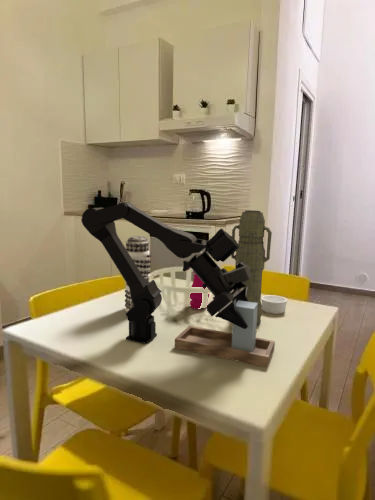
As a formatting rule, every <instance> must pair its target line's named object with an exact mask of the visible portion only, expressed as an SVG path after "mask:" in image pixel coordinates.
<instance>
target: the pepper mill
mask: <svg viewBox="0 0 375 500" xmlns="http://www.w3.org/2000/svg"><path fill="white" fill-rule="evenodd" d="M202 253H203V252H202V251H201V252H199V253H197V254H198V255H201V254H202ZM192 275H193V281H192V284H191V286H190V288H191V287H203V286H202V285H203V284H204V283H203V282H202V281H201V279H200V278H199V277H198V276H197V275H196V273H195V272H194V271H193V270H192ZM209 298H210V293H209V294H208V299H209ZM189 299H190V301H189V306H190V305H191V307H192V308H191V307H190V308H191V309H193V308H195V309H194V310H199V309H198V308H200V306H201V303H202V293H191V294H190V297H189Z"/></svg>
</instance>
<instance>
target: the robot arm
mask: <svg viewBox="0 0 375 500" xmlns="http://www.w3.org/2000/svg"><path fill="white" fill-rule="evenodd" d="M122 219H124V220H125V221H127V222H129V223H131V224H132V225H133V226H135V227H137V228H139V229H140V230H142V231H144V232H146V233H147V234H149V235H151V236H152V237H154V238H156V239H157V240H158V241H160V242H161V243H162V244H163V245H164V246H165V248H166V249H168V250H169V251H170V252H171V253H172V254H173V255H175V256H176V257H177V258H179V259H184V260H183V261H182V265H183V267H182V271H183V272H187V271H189V270H190V269H191V270H192V272H193V271H194V272H195V273H196V275H197V276H198V277H199V278H200V279H201V281H202V282H203V283H204V284H203V285H202V286H203V288H204V289H205V288H206V287H207V288H208V290H209V292H211V295H213V297H212V300H211V301H210V302H208V305H207V308H206V312H207V313H208V314H209V315H210V316H211V317H213V316H214V317H215V318H219V319H222V320H224V321H226V322H229V323H231V324H232V325H233V324H235V325H237V326H239V327H241V328H243V329H246V328H247V327H248V325H247V324H246V322H245V320H244V319H243V317H242V316H241V314H240V313H239V311H238V310H237V308H236V303H237V301H238V300H240V301H247V302H250V301H249V299H248V296H247V289H248V286H247V287H245V286H246V285H247V284H248V283H247V282H246V281H247V280H249V279H250V277H252V275H251V273H250V267H248V265H245V264H244V263H243V262H241V263H238V264H236V267H235V268H233V269H232V270H229V271H228V270H227V269H226V268H221V267H220V266H219V265H218V264H217V262H218V263H219V262H220V261H221V262H223V263H224V262H225V261H227V259H229V258H230V257H231V255H232V254H233V253H234V254H235V253H236V251H237V250H238V249H239V248H240V246H239V244H238V241H237V240H236V238H235V239H234V238H233V237H232V235H230V234H229V232H227V231H225V229H224V228H222V227H221V228H220V229H218V231H216V233H215V234H214V235H213V236H212V237H211V238H210V239H208V240H205V239H200V238H197V237H196V236H195V235H194V234H193V233H190V232H187V231H185V230H181V229H177V228H176V227H175V228H173V227H171V226H169V225H167V224H165V223H163V222H162V221H161V220H158V219H157V218H155V217H153V216H152V215H150V214H148V213H146V212H145V211H143V210H141V209H140V208H138V207H136V206H135V205H134V204H133V203H131V202H129V201H128V202H127V201H126V202H120V203H118V204H114V205H111V206H108V207H93V208H88V209H85V210H84V211H83V212H82V215H81V224H82V226H83V227H84V228H85V229H86V231H87V232H88V233H89V234H90V235H91V236H92V237H93V238H95V239H96V240H98V241H99V242H100V243H101V244H102V246H103V248H104V249H105V251H106V252H107V254H108V255H109V258H110V259H111V260H112V262H113V264H114V265H115V267H116V268H117V269H118V272H119V273H120V275H121V276H122V278H123V281H125V282H126V283H127V284H128V286H129V289H130V295H131V300H132V302H133V305H134V306H133V307H132V308H131V309H130V310H129V311H128V312H127V311H126V312H125V316H126V319H127V321H128V335H127V336H126V337H125V340H126V341H131V342H136V343H142V344H148V343H149V342H150V341H152V340H153V339H154V338H155V337H157V335H158V334H157V333H156V328H157V327H156V326H157V325H156V321H155V315H152V314H153V313H154V312H155V311H156V310H157V309H158V308H159V306H160V305H161V304H162V299H163V298H162V290H161V289H160V288H159V287H158V285H157V283H156V281H155V279H152V280H151V281H147V280H146V279H145V278H144V277H143V276H142V274H141V272H140V271H139V269H138V268H137V266H136V264H135V263H134V261H133V260H132V258H131V256H130V255H129V253H128V252H127V250H126V246H125V245H124V244H123V242H122V240H121V239H120V237H119V235H118V233H117V229H116V227H117V226H116V223H115V221H119V220H122ZM204 249H205V250H204ZM203 250H204V251H203ZM202 251H203V252H202ZM199 252H202V254H201V255H198V253H199ZM193 254H194V255H193ZM192 255H193V256H192ZM191 256H192V257H191ZM189 257H191V258H190V259H189V260H187V259H186V258H189ZM185 259H186V260H185ZM126 283H125V284H126ZM243 287H245V288H244V289H243Z"/></svg>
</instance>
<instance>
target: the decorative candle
mask: <svg viewBox="0 0 375 500" xmlns="http://www.w3.org/2000/svg"><path fill="white" fill-rule="evenodd" d="M125 248H126V250H127V252H128V253H129V255H130V256H131V258H132V260H133V261H134V263H135V264H136V266H137V268H138V269H139V271H140V272H141V274H142V276H143V277H144V278H145V279H146V280H147V281H149V278H150V277H151V274H150V273H151V271H150V270H149V268H151V267H152V265H150V264H151V263H152V261H151V260H150V259H149V258H151V257H152V255H151V254H150V250H149V249H150V241H149V240H148V238H147V237H145V236H139V235H137V236H135V235H134V236H130V237H128V238H127V240H126V241H125ZM149 282H150V281H149ZM124 293H125V294H124V297H125V299H124V303H125V304H124V306H125V308H124V310H125V312H126V313H127V312H128V311H129V310H130V309H131V308H132V307H133V306H134V305H133V302H132V300H131V295H130V289H129V286H128V284H127V283H125V290H124Z"/></svg>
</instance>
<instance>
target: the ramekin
mask: <svg viewBox="0 0 375 500" xmlns="http://www.w3.org/2000/svg"><path fill="white" fill-rule="evenodd" d="M261 303H262V312H264V313H265V312H266V313H268V314H271V315H272V314H273V315H281V314H284V313H285V312H286V308H287V303H288V299H287V298H286V297H284V296H281V295H274V294H270V295H269V294H268V295H263V296H261Z"/></svg>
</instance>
